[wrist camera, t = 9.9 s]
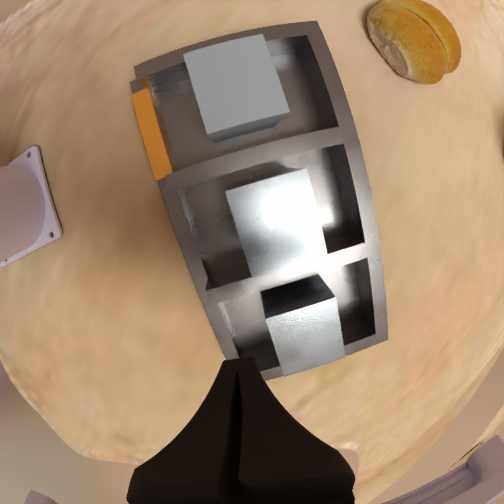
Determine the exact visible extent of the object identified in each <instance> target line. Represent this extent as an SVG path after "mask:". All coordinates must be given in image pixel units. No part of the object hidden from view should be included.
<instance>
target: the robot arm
mask: <svg viewBox="0 0 504 504" xmlns="http://www.w3.org/2000/svg"><path fill="white" fill-rule="evenodd" d="M30 153H31V156H29V154H30ZM52 232H53V234H54V237H53V236H52ZM61 236H62V229H61V226H60V223H59V220H58V217H57V214H56V211H55V208H54V205H53V202H52V198H51V195H50V191H49V188H48V184H47V180H46V177H45V173H44V169H43V165H42V160H41V156H40V151H39V148H38V146H32V147H30V148H29V149H27V150H26V151H25V152H23V153H22V154H21V155H19V156H18V157H17V158H15V159H14V160H13V161H12V162H10V163H9V164H8V165H7V166H4V167H0V266H1V267H3V266H5V265H7V264H9V263H11V262H13V261H14V260H16V259H18V258H20V257H22V256H24V255H26V254H28V253H30V252H32V251H34V250H36V249H38V248H40V247H42V246H44V245H46V244H48V243H50V242H52V241H54V240H56V239H58V238H60V237H61ZM354 482H355V475H354V473H353V471H352V469H351V467H350V466H349V464H348V463H347V461H346V460H345V459H344V457H343V456H342V455H341V454H340V453H339V451H338V450H336V449H334V448H333V447H331V446H329V445H328V444H326V443H324V442H323V441H321V440H320V439H319V438H317V437H316V436H314V435H313V434H312V433H310V432H309V431H308V430H307V429H306V428H304V427H303V426H302V425H301V424H300V423H299V422H297V421H296V420H295V419H294V418H293V417H292V416H291V415H290V414H289V413H288V412H287V410H286V409H285V408H284V407H283V406H282V405H281V404H280V402H279V401H278V400H277V398H276V397H275V396H274V394H273V393H272V392H271V390H270V389H269V387H268V385H267V384H266V382H265V381H264V379H263V377H262V375H261V373H260V371H259V369H258V366H257V362H256V358H255V357H253V356H250V357H244V358H237V359H231V360H224V361H223V362H222V365H221V367H220V370H219V372H218V375H217V377H216V379H215V381H214V383H213V385H212V387H211V389H210V391H209V393H208V394H207V396H206V398H205V399H204V401H203V403H202V404H201V406H200V408H199V409H198V411H197V412H196V413H195V415H194V416H193V418H192V419H191V420H190V421H189V423H188V424H187V425H186V426H185V427H184V429H183V430H182V431H181V432H180V433H179V434H178V435H177V436H176V437H175V438H174V439H173V440H172V441H171V442H170V443H169V444H168V445H167V446H166V447H164V448H163V449H162V450H161V451H160V452H159V453H157V454H156V455H155V456H154V457H152V458H151V459H149V460H148V461H146V462H145V463H143V464H142V465H140V466H139V467H137V468H135V470H134V473H133V475H132V477H131V481H130V485H129V489H128V493H127V497H126V499H127V501H128V503H129V504H355V503H354V501H355V497H354V495H353V491H352V489H353V486H354ZM503 493H504V443H503V441H502V440H501V439H500V437H499V436H498V435H495V436H494V437H492V438H491V439H490V440H488V441H487V442H486V443H484V444H483V445H481V446H480V447H478V448H477V449H476V450H475V451H474V452H472V454H471V455H470V456H469V457H468V459H467V461H466V462H465V463H463V464H461V465H460V466H458V467H457V468H455V469H453V470H452V471H450V472H448V473H446V474H445V475H443V476H441V477H439V478H437V479H435V480H434V481H432V482H430V483H428V484H426V485H424V486H422V487H420V488H417V489H415V490H413V491H411V492H409V493H407V494H405V495H402V496H400V497H397V498H395V499H393V500H390V501H387V502H385V503H383V504H491V503H492V502H494V501H495V500H496V499H497V498H498V497H500V496H501V495H502V494H503ZM25 504H58V503H57V502H55V501H54V500H52V499H51V498H49V497H47V496H45V495H43V494H40V493H38V492H35V491H33V490H30V492H29V495H28V496H27V499H26V501H25Z"/></svg>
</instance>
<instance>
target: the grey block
mask: <svg viewBox="0 0 504 504" xmlns="http://www.w3.org/2000/svg"><path fill="white" fill-rule="evenodd" d="M183 56H184V59H185V62H186V66H187V69H188V72H189V76H190V79H191V83H192V86H193V89H194V93H195V96H196V99H197V103H198V106H199V109H200V113H201V116H202V119H203V123H204V126H205V129H206V132H207V135H208V136H209V137H210V138H211V140H212V141H213V142H214V143H217V142H221V141H224V140H227V139H231V138H234V137H238V136H241V135H245V134H248V133H252V132H256V131H260V130H263V129H267V128H271V127H275V126H276V125H277V124H278V123H279V122H280V121H281V120H282V119H283V118H284V117H285V116H286V115H287V114H289V113H290V111H289V108H288V104H287V101H286V98H285V95H284V92H283V89H282V86H281V83H280V80H279V77H278V74H277V72H276V69H275V66H274V63H273V60H272V58H271V55H270V52H269V49H268V47H267V44H266V41H265V39H264V36H263V34H259V35H254V36H249V37H244V38H239V39H235V40H231V41H227V42H223V43H219V44H215V45H211V46H208V47H204V48H201V49H198V50H194V51H191V52H188V53H185V54H183Z"/></svg>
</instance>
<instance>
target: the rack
mask: <svg viewBox="0 0 504 504" xmlns="http://www.w3.org/2000/svg"><path fill="white" fill-rule="evenodd" d="M259 34H263V36H264V39H265V41H266V44H267V47H268V49H269V52H270V55H271V58H272V60H273V63H274V66H275V69H276V72H277V74H278V77H279V80H280V83H281V86H282V89H283V92H284V95H285V98H286V101H287V104H288V108H289V111H290V113H289V114H287V115H286V116H285V117H284V118H283V119H282V120H281V121H280V122H279V123H278V124H277V125H276V126H275V127H271V128H267V129H263V130H260V131H256V132H252V133H248V134H245V135H241V136H238V137H234V138H231V139H227V140H224V141H221V142H217V143H214V142H213V141H212V140H211V138H210V137H209V136H208V135H207V132H206V129H205V126H204V123H203V119H202V116H201V113H200V109H199V106H198V103H197V99H196V96H195V93H194V89H193V86H192V83H191V79H190V76H189V72H188V69H187V66H186V62H185V59H184V56H183V54H185V53H188V52H191V51H194V50H198V49H201V48H204V47H208V46H211V45H215V44H219V43H223V42H227V41H231V40H235V39H239V38H244V37H249V36H254V35H259ZM134 69H135V73H136V77H137V79H135V80H133V81H131V82H130V85H131V89H132V93H133V94H132V95H131V97H132V101H133V105H134V109H135V113H136V116H137V120H138V124H139V127H140V131H141V134H142V138H143V141H144V145H145V148H146V152H147V155H148V158H149V162H150V165H151V168H152V171H153V175H154V178H155V181H158V184H159V187H160V190H161V193H162V196H163V199H164V202H165V205H166V208H167V211H168V214H169V217H170V220H171V222H172V225H173V228H174V231H175V234H176V237H177V239H178V242H179V245H180V248H181V250H182V253H183V256H184V258H185V261H186V264H187V266H188V269H189V272H190V274H191V277H192V279H193V282H194V284H195V287H196V289H197V292H198V294H199V297H200V299H201V302H202V304H203V307H204V309H205V312H206V314H207V316H208V319H209V321H210V324H211V326H212V328H213V331H214V333H215V335H216V338H217V340H218V342H219V345H220V347H221V349H222V351H223V354H224V356H225V358H226V360H231V359H237V358H244V357H250V356H253V357H255V358H256V362H257V366H258V369H259V371H260V373H261V375H262V377H263V379H264V381H267V380H270V379H274V378H278V377H281V376H284V377H285V376H289V375H292V374H296V373H299V372H302V371H306V370H309V369H312V368H315V367H318V366H321V365H324V364H327V363H330V362H333V361H336V360H339V359H342V358H345V356H347V355H350V354H353V353H355V352H358V351H361V350H363V349H366V348H368V347H371V346H373V345H376V344H378V343H381V342H383V341H386V340H388V324H387V306H386V293H385V282H384V272H383V264H382V255H381V248H380V241H379V234H378V228H377V221H376V215H375V210H374V204H373V199H372V194H371V189H370V184H369V180H368V175H367V170H366V166H365V162H364V158H363V154H362V150H361V146H360V142H359V138H358V134H357V131H356V127H355V124H354V120H353V117H352V114H351V110H350V107H349V104H348V101H347V98H346V95H345V92H344V89H343V86H342V83H341V80H340V77H339V74H338V71H337V69H336V66H335V63H334V61H333V58H332V55H331V53H330V50H329V48H328V45H327V43H326V41H325V38H324V36H323V33H322V31H321V29H320V27H319V24H318V22H317V21H308V22H298V23H289V24H282V25H275V26H269V27H263V28H257V29H252V30H247V31H242V32H238V33H233V34H229V35H225V36H221V37H217V38H213V39H210V40H206V41H203V42H199V43H196V44H193V45H190V46H187V47H183V48H180V49H178V50H175V51H172V52H169V53H166V54H164V55H161V56H158V57H156V58H153V59H151V60H148V61H146V62H143V63H141V64H139V65H136V66H134Z"/></svg>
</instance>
